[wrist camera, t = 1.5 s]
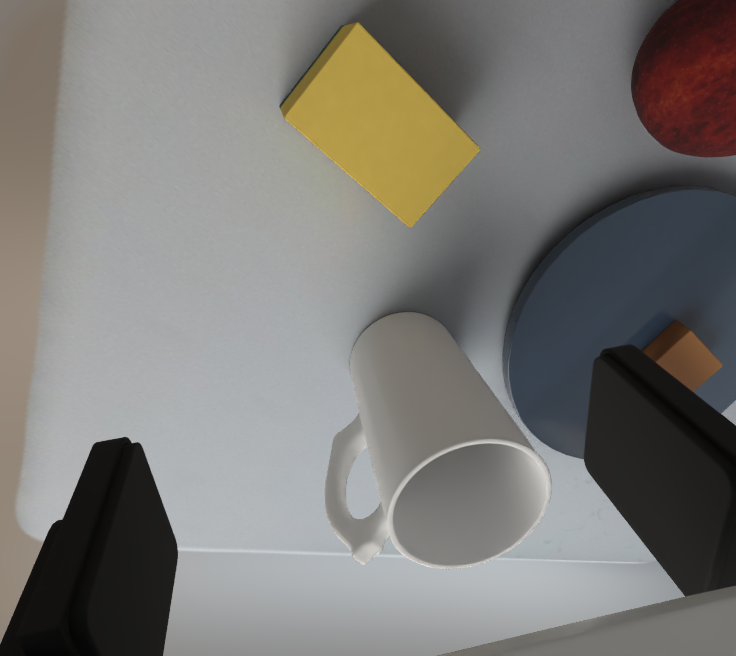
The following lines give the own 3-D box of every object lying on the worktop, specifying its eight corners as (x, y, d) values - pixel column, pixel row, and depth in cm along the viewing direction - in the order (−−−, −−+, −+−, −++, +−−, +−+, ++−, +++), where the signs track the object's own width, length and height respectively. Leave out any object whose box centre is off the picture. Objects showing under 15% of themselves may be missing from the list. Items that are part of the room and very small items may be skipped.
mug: (416, 282, 31) (500, 407, 20) (478, 361, 34) (580, 504, 23) (276, 390, 32) (286, 559, 22) (348, 456, 35) (387, 632, 25)
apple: (768, 60, 29) (936, 65, 22) (649, 176, 30) (767, 216, 23) (701, -64, 26) (871, -105, 18) (572, 73, 27) (682, 83, 20)
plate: (677, 111, 29) (697, 114, 28) (816, 305, 37) (837, 314, 35) (438, 357, 33) (445, 370, 32) (607, 485, 41) (619, 500, 39)
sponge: (279, 106, 26) (283, 117, 22) (341, 25, 25) (357, 21, 21) (389, 203, 28) (410, 228, 25) (449, 134, 28) (481, 149, 24)
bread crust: (675, 319, 33) (691, 329, 32) (707, 354, 35) (724, 365, 34) (628, 362, 34) (642, 374, 33) (662, 394, 36) (677, 407, 34)
